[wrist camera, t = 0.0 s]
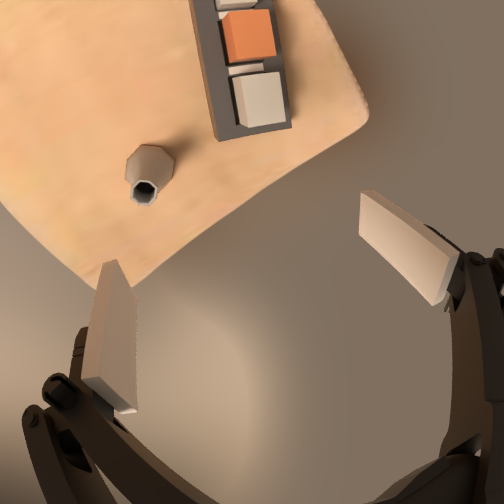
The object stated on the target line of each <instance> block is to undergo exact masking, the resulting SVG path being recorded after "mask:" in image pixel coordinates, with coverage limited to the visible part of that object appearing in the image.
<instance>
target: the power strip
mask: <svg viewBox="0 0 504 504" xmlns="http://www.w3.org/2000/svg"><path fill="white" fill-rule="evenodd" d="M257 1H258V2H257V3H256V4H255V5H254V6H252V7H251V8H249V9H236V10H225V11H217V12H216V11H215V6H214V0H189V5H190V11H191V17H192V22H193V28H194V33H195V39H196V44H197V49H198V55H199V60H200V65H201V71H202V76H203V81H204V86H205V91H206V96H207V102H208V107H209V112H210V117H211V122H212V127H213V132H214V137H215V138H216V139H217V140H218V141H219V142H221V141H226V140H230V139H235V138H240V137H244V136H249V135H254V134H260V133H265V132H271V131H277V130H283V129H289V128H292V124H291V116H290V108H289V100H288V92H287V85H286V78H285V71H284V64H283V57H282V51H281V45H280V39H279V33H278V27H277V22H276V16H275V11H274V6H273V0H257ZM259 9H269V14H270V20H271V25H272V31H273V37H274V43H275V49H276V55H277V56H273V57H270V58H266V59H259V60H250V61H242V62H234V63H229V57H228V51H227V46H226V40H225V35H224V29H223V24H222V19H223V18H224V17H225V16H226V14H227V13H228V12H230V11H242V10H259ZM272 72H279V75H280V81H281V88H282V96H283V103H284V111H285V119H286V122H279V123H273V124H267V125H261V126H256V127H250V128H248V127H246V126H244V125H242V124H240V120H239V114H238V108H237V102H236V97H235V91H234V85H233V80H232V78H235V77H240V76H247V75H254V74H263V73H272Z"/></svg>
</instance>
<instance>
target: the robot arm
mask: <svg viewBox="0 0 504 504" xmlns="http://www.w3.org/2000/svg"><path fill="white" fill-rule="evenodd" d="M359 235H360V236H361V237H362V238H364V239H365V240H366V241H367V242H368V243H369V244H370V245H371V246H372V247H373V248H375V249H376V250H377V251H378V252H379V253H380V254H381V255H382V256H383V257H384V258H385V259H386V260H387V261H388V262H390V264H392V266H393V267H395V268H396V269H397V270H398V271H399V272H400V273H401V274H402V275H403V276H404V277H405V278H406V279H407V280H408V281H409V282H410V283H411V284H412V285H413V286H414V287H415V288H416V289H417V290H418V291H419V292H420V294H422V295H423V297H424V298H425V299H426V300H427V301H428V302H429V303H430V304H431V305H432V306H434V305H435V304H437V303H439V302H440V301H442V300H443V298H444V296H445V293H446V291H448V292H449V293H450V297H449V299H448V301H447V304H446V306H445V308H444V312H446V311H447V308H448V307H450V310H449V313H450V316H451V317H450V318H451V332H452V356H453V373H452V378H453V379H452V399H451V414H450V424H449V429H448V432H447V434H446V436H445V438H444V440H443V442H442V445H441V449H440V454H439V458H438V459H436V460H434V461H432V462H430V463H428V464H426V465H424V466H422V467H420V468H418V469H416V470H414V471H413V472H411V473H410V474H408V475H407V476H405V477H404V478H402V479H400V480H399V481H397V482H395V483H394V484H393V485H392V486H391V487H390V488H389V489H387V490H386V491H385V492H384V493H383V494H382V495H381V496H379V497H378V498H377V499H376V500H374V501H373V502H369V503H365V504H504V296H503V295H502V294H501V291H502V289H503V287H504V249H502V248H497V249H495V250H494V253H493V256H492V257H491V258H484V257H483V256H482V255H480V254H479V253H475V252H468V253H465V252H463V251H462V250H461V249H460V248H458V247H457V246H456V245H455V244H453V243H452V242H451V241H449V240H448V239H446V238H445V237H444V236H443V235H442V234H440V233H439V232H437V231H436V230H435V229H434V228H432V227H430V226H427V225H425V224H422V223H421V222H419V221H418V220H416V219H415V218H413V217H412V216H411V215H409V214H408V213H407V212H405V211H404V210H402V209H401V208H399V207H398V206H396V205H395V204H393V203H392V202H390V201H389V200H387V199H386V198H384V197H383V196H381V195H379V194H378V193H376V192H374V191H373V190H367V191H363V192H361V205H360V223H359ZM136 320H137V298H136V296H135V294H134V293H133V291H132V289H131V287H130V285H129V283H128V281H127V279H126V277H125V275H124V273H123V271H122V269H121V267H120V265H119V263H118V261H117V259H115V260H112V261H109V262H106V263H103V266H102V270H101V273H100V277H99V281H98V285H97V289H96V294H95V298H94V303H93V307H92V312H91V317H90V322H89V326H88V327H84V328H81V329H80V331H79V333H78V335H77V337H76V339H75V344H74V350H73V355H72V356H73V358H72V361H71V368H70V374H69V378H68V377H67V376H65V375H64V374H63V373H56V374H53V375H51V376H50V377H49V378H48V379H47V380H46V381H45V383H44V386H43V388H42V397H43V400H44V401H45V402H47V403H48V404H49V405H50V406H51V407H49V408H47V409H45V410H43V409H42V408H40V407H39V406H38V405H30V406H29V407H28V408H26V409H25V412H24V413H23V416H22V427H23V432H24V436H25V440H26V444H27V447H28V451H29V454H30V458H31V461H32V464H33V467H34V470H35V473H36V476H37V479H38V481H39V484H40V487H41V489H42V492H43V494H44V497H45V499H46V501H47V504H117V502H116V501H115V499H114V497H113V496H112V494H111V492H110V491H109V489H108V487H107V486H106V484H105V482H104V480H103V479H102V477H101V475H100V473H99V471H98V469H97V467H96V466H95V464H96V465H97V466H98V467H99V469H100V470H101V471H102V472H103V473H104V474H105V476H106V477H107V478H108V479H109V480H110V481H111V482H112V483H113V485H114V486H115V487H116V488H117V489H118V490H119V491H120V492H121V493H122V494H123V495H124V496H125V497H126V498H127V499H128V500H129V501H130V502H131V503H132V504H219V503H218V502H216V501H214V500H213V499H211V498H210V497H208V496H207V495H205V494H204V493H203V492H201V491H200V490H198V489H197V488H195V487H194V486H193V485H191V484H190V483H189V482H187V481H186V480H184V479H183V478H182V477H181V476H179V475H178V474H177V473H175V472H174V471H173V470H172V469H170V468H169V467H168V466H167V465H166V464H164V463H163V462H162V461H161V460H160V459H158V458H157V457H156V456H155V455H154V454H152V452H150V451H149V450H148V449H147V448H146V447H145V446H144V445H143V444H142V443H140V441H139V440H137V439H136V438H135V437H134V436H133V435H132V434H131V433H130V432H129V431H128V430H127V429H126V428H125V427H124V426H123V425H122V424H121V423H120V421H119V420H118V419H116V418H115V417H114V409H115V410H117V411H118V412H119V413H120V414H126V413H133V412H138V406H137V385H136ZM479 449H481V455H480V457H479V456H475V453H476V452H477V451H478V450H479Z"/></svg>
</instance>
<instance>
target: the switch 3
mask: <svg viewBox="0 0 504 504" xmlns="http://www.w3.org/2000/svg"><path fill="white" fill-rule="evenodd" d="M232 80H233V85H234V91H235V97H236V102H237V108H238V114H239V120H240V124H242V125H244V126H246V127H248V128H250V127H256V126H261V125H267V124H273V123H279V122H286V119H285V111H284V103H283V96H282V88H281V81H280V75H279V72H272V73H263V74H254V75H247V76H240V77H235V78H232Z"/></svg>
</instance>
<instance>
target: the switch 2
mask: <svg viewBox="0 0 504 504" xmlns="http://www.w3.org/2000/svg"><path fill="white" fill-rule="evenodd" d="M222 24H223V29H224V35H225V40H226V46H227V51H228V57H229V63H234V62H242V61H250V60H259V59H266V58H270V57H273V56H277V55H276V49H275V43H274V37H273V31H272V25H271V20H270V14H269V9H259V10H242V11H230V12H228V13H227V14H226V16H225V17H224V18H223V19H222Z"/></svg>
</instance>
